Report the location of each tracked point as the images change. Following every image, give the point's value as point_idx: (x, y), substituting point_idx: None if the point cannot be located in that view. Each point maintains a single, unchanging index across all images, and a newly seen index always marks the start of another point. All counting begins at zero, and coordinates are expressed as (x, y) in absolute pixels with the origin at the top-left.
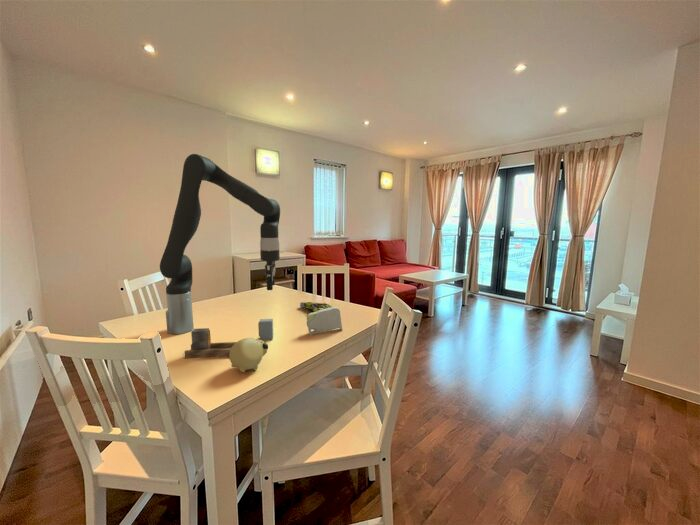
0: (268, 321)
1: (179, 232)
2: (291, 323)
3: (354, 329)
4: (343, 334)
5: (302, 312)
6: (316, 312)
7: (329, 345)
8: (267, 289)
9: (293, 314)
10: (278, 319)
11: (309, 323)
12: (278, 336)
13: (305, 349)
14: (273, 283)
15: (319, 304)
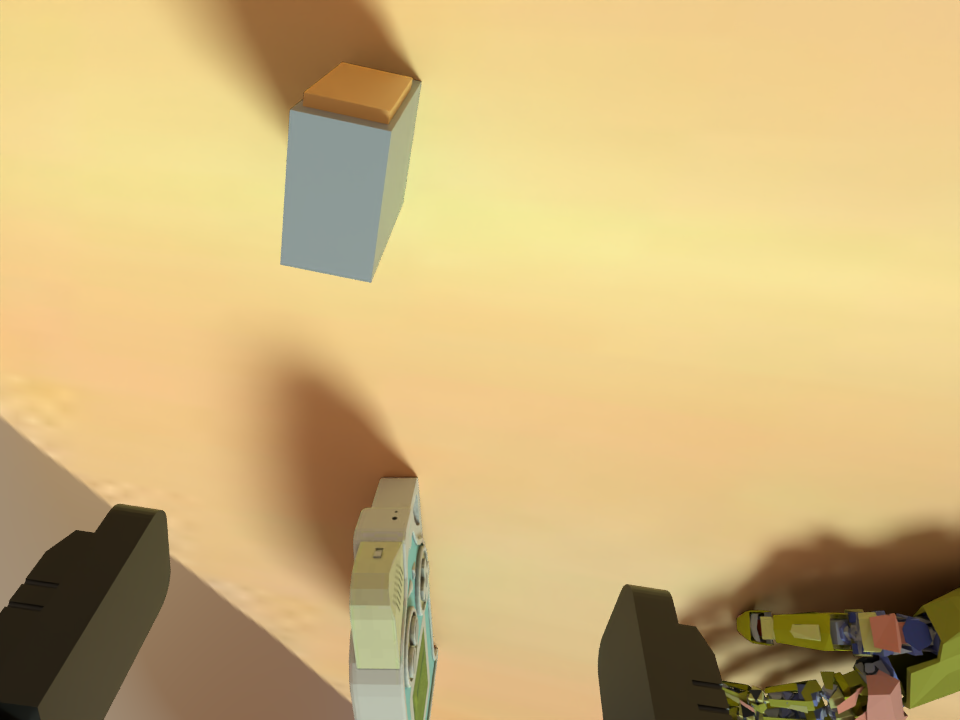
0: (283, 226)
1: None
2: (694, 394)
3: None
4: (333, 640)
5: (945, 521)
6: (375, 665)
7: None
8: (113, 516)
9: (941, 446)
10: (879, 299)
11: (354, 543)
12: (406, 249)
13: (112, 400)
14: (605, 677)
15: (850, 696)
